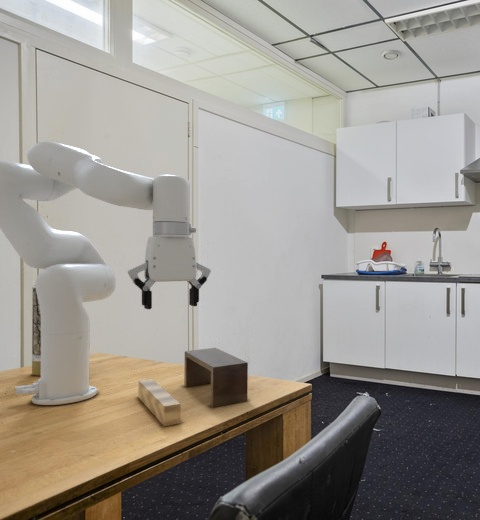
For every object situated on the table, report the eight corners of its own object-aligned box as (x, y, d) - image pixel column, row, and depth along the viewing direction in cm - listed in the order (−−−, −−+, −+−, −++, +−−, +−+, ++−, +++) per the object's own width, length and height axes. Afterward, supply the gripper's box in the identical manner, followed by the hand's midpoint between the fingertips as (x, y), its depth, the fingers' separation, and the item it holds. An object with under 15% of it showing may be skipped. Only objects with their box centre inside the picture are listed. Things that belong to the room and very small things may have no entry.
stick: (180, 423, 94) (180, 403, 94) (164, 426, 92) (164, 406, 92) (152, 395, 113) (152, 378, 113) (138, 397, 111) (138, 380, 111)
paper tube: (45, 377, 128) (46, 286, 128) (25, 375, 129) (26, 285, 129) (67, 371, 135) (68, 284, 134) (48, 369, 136) (48, 284, 136)
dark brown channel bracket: (212, 407, 104) (213, 367, 104) (184, 385, 121) (184, 351, 121) (247, 400, 109) (247, 362, 109) (215, 380, 126) (215, 347, 126)
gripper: (204, 233, 113) (203, 303, 113) (124, 230, 101) (123, 308, 102) (216, 232, 108) (215, 306, 108) (133, 228, 96) (132, 311, 96)
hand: (171, 307), depth 105 cm, fingers open, 9 cm apart
